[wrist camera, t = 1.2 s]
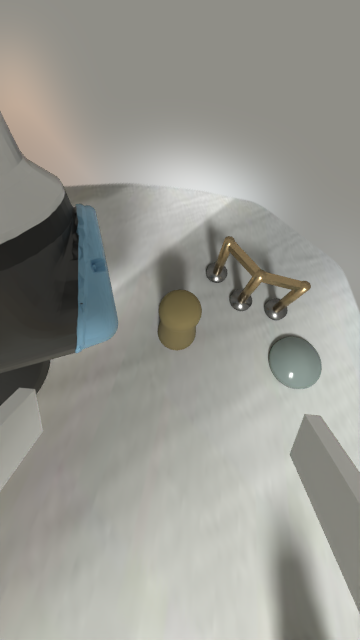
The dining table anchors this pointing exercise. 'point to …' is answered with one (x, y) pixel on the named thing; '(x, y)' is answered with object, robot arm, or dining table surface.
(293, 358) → the coaster
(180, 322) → the cork
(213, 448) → the dining table surface
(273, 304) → the rail
